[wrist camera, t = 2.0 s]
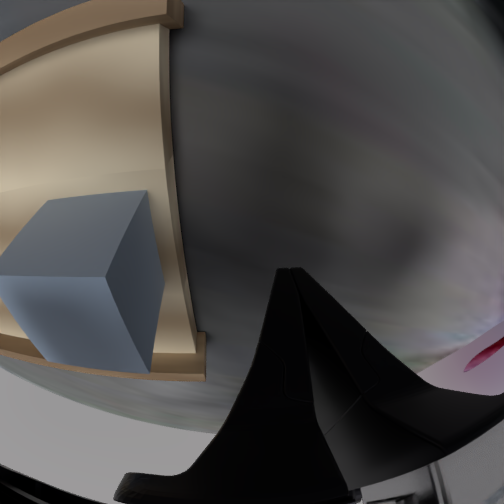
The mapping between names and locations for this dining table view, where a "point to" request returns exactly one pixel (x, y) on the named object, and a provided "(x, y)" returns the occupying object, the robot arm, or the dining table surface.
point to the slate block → (87, 281)
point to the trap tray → (97, 148)
